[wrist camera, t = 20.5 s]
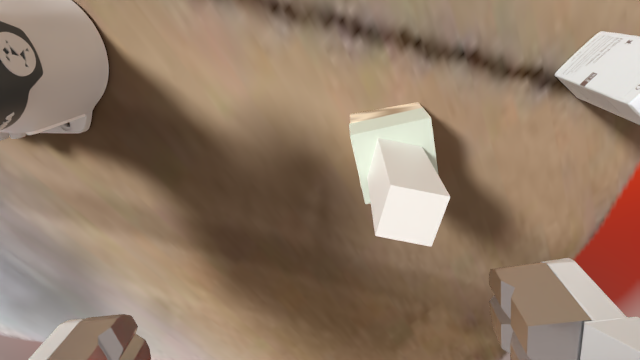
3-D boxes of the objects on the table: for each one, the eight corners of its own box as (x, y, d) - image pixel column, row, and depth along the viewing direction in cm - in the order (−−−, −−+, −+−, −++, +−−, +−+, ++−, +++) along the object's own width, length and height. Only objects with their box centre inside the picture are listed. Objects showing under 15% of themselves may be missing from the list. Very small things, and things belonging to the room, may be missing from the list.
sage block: (363, 188, 44) (365, 204, 40) (349, 123, 41) (349, 135, 37) (432, 174, 43) (440, 189, 39) (422, 107, 40) (431, 117, 36)
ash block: (359, 173, 48) (360, 187, 44) (349, 113, 45) (350, 122, 41) (423, 164, 47) (429, 177, 43) (417, 101, 44) (424, 109, 40)
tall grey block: (408, 186, 39) (431, 246, 29) (367, 177, 39) (375, 235, 29) (421, 146, 37) (450, 196, 27) (377, 137, 37) (390, 184, 27)
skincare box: (598, 28, 39) (699, 37, 28) (625, 56, 40) (733, 74, 29) (550, 76, 41) (625, 101, 30) (576, 101, 42) (658, 134, 31)
